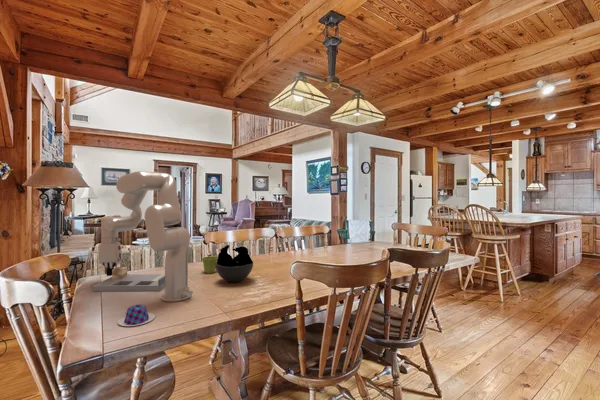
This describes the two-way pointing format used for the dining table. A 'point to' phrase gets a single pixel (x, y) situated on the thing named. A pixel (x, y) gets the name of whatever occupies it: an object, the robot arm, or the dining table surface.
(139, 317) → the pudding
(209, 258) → the plant pot
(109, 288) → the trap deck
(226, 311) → the dining table surface
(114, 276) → the block
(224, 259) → the black bowl plant
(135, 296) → the dining table surface
